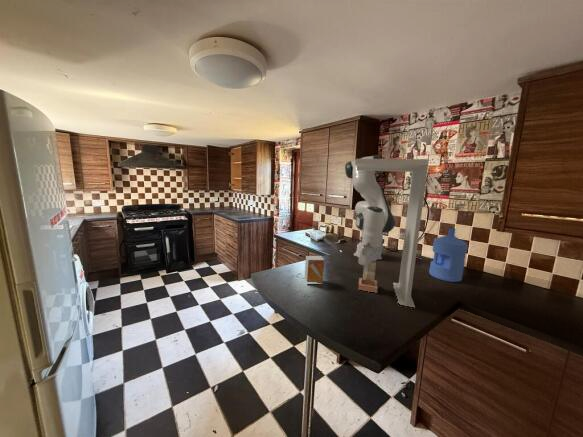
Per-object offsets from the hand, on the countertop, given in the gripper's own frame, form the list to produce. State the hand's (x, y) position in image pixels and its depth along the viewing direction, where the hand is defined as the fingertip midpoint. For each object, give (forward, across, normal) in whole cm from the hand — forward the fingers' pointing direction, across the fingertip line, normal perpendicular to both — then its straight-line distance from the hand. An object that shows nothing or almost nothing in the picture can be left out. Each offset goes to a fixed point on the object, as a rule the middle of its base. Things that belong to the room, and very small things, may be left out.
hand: (369, 269), depth 109 cm
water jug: (+10, +47, -27) cm, 55 cm away
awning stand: (+10, +1, -4) cm, 11 cm away
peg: (+5, 0, 0) cm, 5 cm away
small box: (+10, -13, +23) cm, 28 cm away
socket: (+10, 0, 0) cm, 10 cm away
